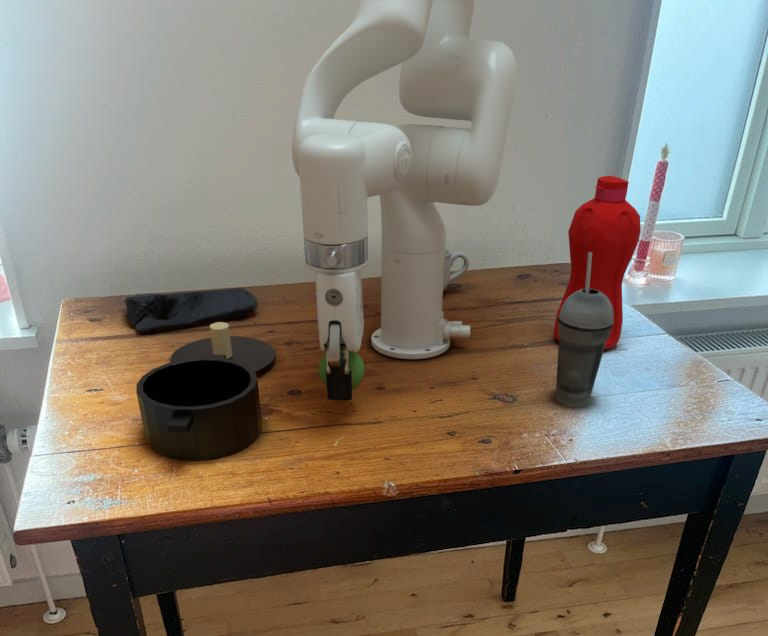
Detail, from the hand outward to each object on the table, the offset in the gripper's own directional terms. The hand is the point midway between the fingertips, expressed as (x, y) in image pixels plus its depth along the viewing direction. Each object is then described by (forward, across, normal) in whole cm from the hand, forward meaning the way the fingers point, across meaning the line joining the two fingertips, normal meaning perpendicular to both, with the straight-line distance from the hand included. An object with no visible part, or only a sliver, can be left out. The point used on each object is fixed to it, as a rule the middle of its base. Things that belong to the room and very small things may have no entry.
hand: (342, 386), depth 100 cm
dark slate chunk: (+5, +34, +29) cm, 45 cm away
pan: (+3, -7, +17) cm, 19 cm away
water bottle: (+5, +26, -38) cm, 46 cm away
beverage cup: (+4, +5, -32) cm, 32 cm away
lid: (+3, +14, +20) cm, 24 cm away
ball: (-2, 0, 0) cm, 2 cm away
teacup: (+5, +47, -12) cm, 49 cm away
